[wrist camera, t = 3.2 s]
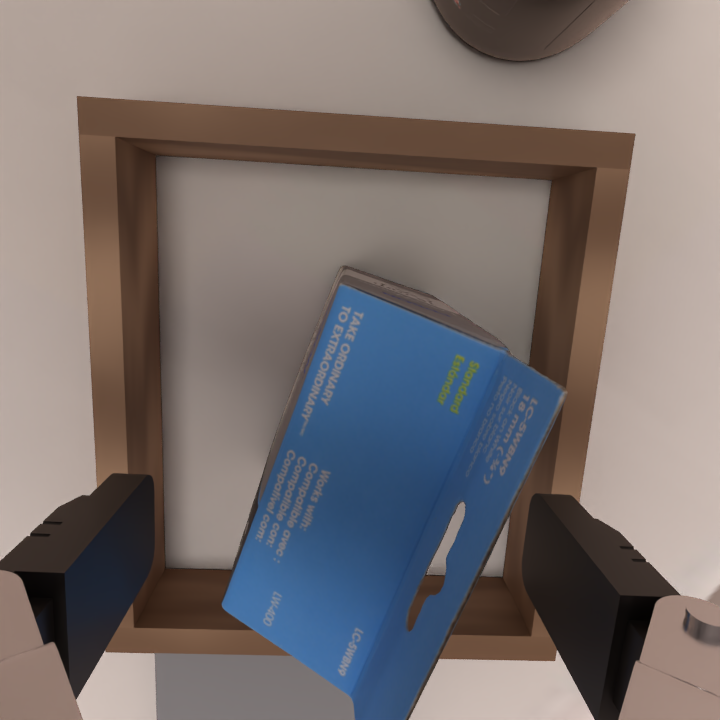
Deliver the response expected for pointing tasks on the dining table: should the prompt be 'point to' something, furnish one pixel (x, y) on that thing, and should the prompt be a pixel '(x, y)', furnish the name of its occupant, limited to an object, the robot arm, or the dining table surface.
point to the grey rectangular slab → (244, 689)
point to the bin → (356, 150)
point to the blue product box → (385, 488)
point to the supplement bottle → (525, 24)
